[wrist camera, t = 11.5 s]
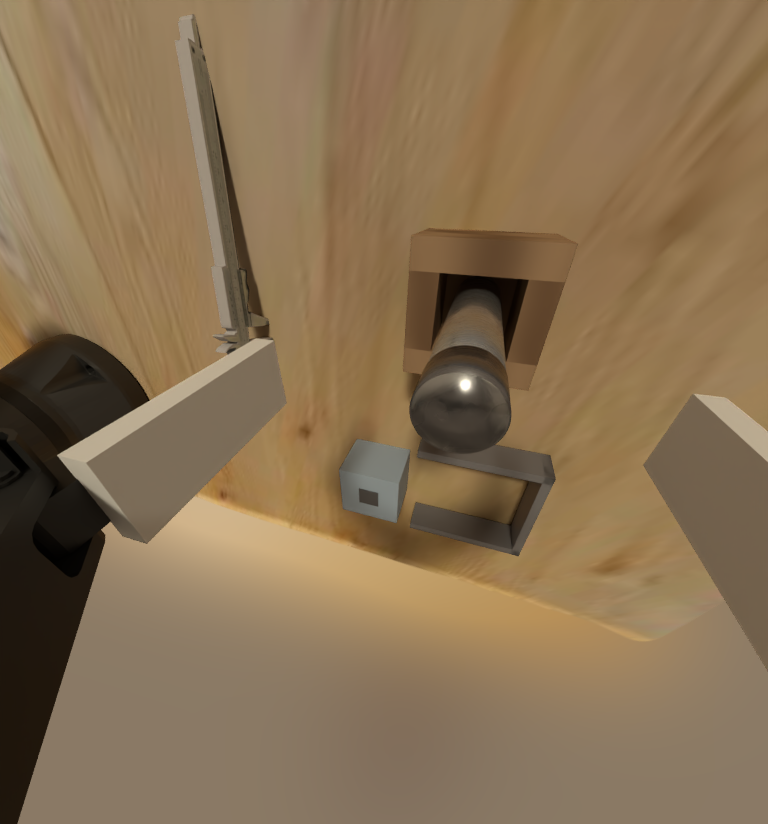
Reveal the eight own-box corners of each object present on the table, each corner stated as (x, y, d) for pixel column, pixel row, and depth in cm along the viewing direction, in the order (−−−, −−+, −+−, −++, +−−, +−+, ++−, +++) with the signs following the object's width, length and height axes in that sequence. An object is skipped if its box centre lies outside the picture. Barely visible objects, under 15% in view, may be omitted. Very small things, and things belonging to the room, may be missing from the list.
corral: (415, 506, 37) (410, 527, 34) (423, 431, 30) (417, 450, 28) (516, 531, 34) (518, 556, 32) (550, 455, 27) (555, 479, 25)
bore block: (419, 339, 25) (402, 371, 21) (429, 228, 21) (411, 235, 16) (521, 352, 24) (528, 390, 19) (556, 233, 19) (578, 243, 14)
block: (359, 476, 37) (342, 509, 33) (357, 438, 33) (338, 470, 29) (407, 487, 36) (396, 523, 32) (410, 449, 32) (398, 484, 28)
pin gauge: (452, 317, 23) (406, 443, 11) (458, 272, 21) (413, 363, 9) (495, 322, 22) (498, 462, 10) (505, 276, 20) (524, 379, 8)
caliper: (275, 341, 30) (232, 369, 25) (266, 340, 30) (221, 367, 25) (198, 17, 18) (89, -52, 13) (184, 21, 19) (72, -46, 14)
